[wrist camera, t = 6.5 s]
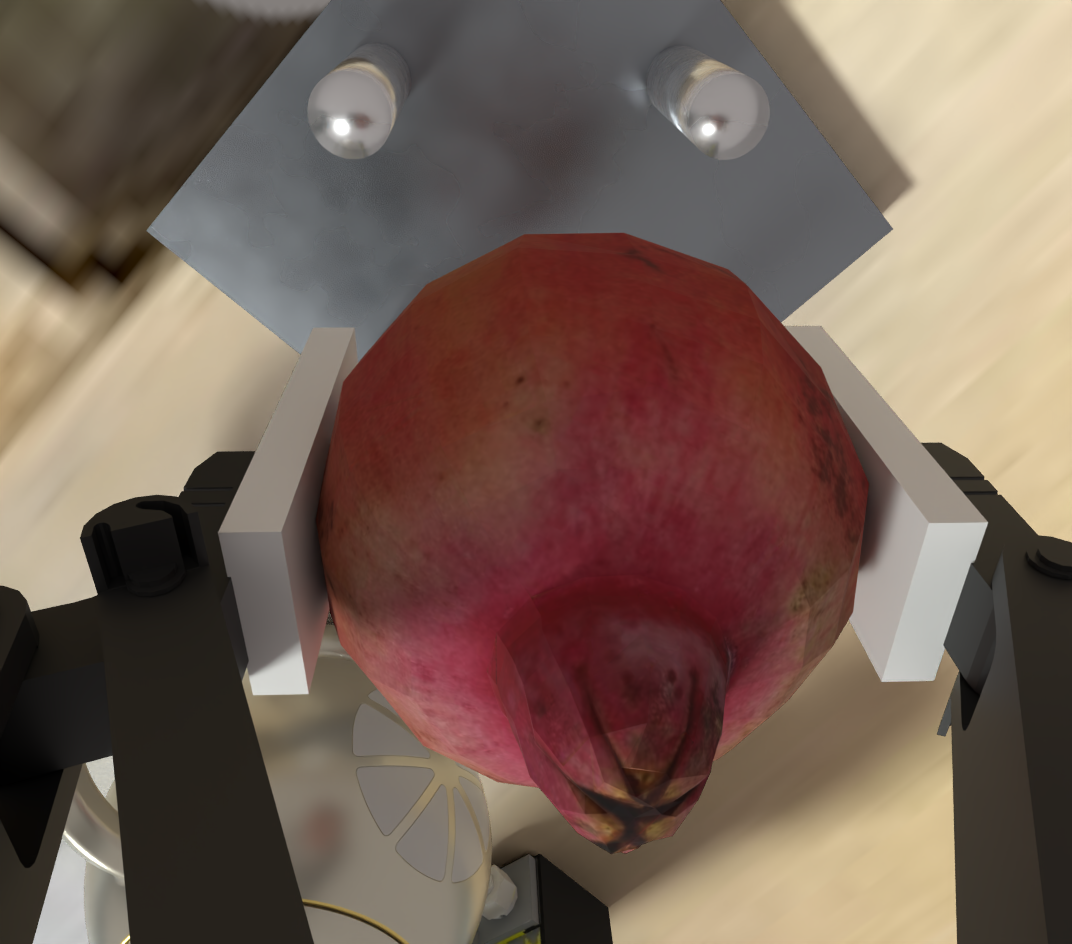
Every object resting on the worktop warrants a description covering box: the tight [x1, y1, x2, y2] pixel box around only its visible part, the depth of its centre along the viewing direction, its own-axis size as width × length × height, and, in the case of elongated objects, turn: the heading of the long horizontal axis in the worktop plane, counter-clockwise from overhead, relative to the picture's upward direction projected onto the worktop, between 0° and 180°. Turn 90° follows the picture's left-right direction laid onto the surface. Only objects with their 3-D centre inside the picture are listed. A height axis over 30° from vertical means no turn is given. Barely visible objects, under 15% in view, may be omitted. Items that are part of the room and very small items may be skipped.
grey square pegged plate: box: [147, 0, 893, 362], centre depth 24 cm, size 16×16×7 cm
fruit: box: [316, 233, 869, 854], centre depth 13 cm, size 8×8×10 cm
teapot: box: [62, 624, 492, 944], centre depth 30 cm, size 18×14×16 cm
